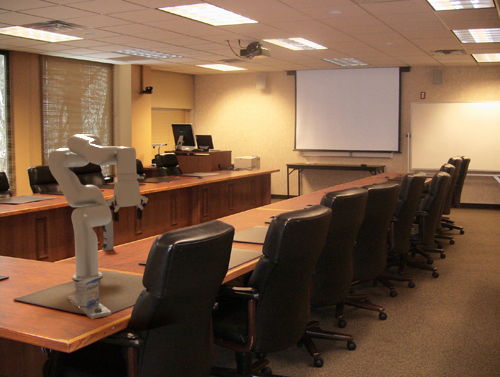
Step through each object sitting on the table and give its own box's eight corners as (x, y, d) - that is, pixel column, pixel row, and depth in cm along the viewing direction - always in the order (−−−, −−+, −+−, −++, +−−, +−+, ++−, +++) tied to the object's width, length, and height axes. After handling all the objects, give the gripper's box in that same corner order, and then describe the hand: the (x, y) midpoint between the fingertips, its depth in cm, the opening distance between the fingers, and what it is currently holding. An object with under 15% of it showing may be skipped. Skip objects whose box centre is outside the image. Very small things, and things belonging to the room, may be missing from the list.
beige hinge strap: (67, 299, 197) (67, 294, 197) (85, 295, 201) (85, 291, 201) (91, 319, 175) (91, 313, 175) (111, 314, 179) (111, 309, 179)
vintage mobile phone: (102, 249, 284) (100, 204, 282) (110, 248, 288) (108, 204, 285) (105, 251, 282) (104, 205, 279) (113, 249, 285) (112, 204, 283)
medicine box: (86, 307, 184) (86, 283, 183) (76, 306, 185) (75, 282, 184) (99, 300, 192) (98, 277, 191) (89, 299, 193) (88, 276, 192)
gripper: (143, 176, 214) (144, 217, 216) (102, 178, 204) (103, 221, 205) (150, 177, 208) (151, 219, 209) (109, 179, 198) (110, 223, 199)
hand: (128, 220), depth 207 cm, fingers open, 9 cm apart
